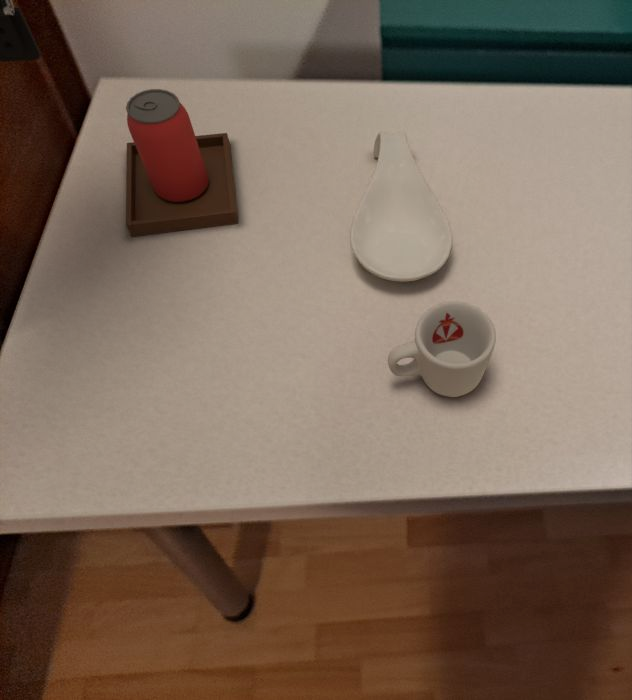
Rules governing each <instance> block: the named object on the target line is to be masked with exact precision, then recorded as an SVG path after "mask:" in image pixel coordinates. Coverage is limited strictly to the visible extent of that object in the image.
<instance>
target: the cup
mask: <svg viewBox="0 0 632 700" xmlns="http://www.w3.org/2000/svg"><path fill="white" fill-rule="evenodd" d="M496 342H497V332H496V328H495V325H494V323H493V321H492V319H491V318H490V317H489V316H488V314H487V313H486V312H485V311H483V310H482V309H480V307H477V306H476V305H474V304H471V303H468V302H464V301H458V300H450V301H444V302H441V303H440V302H439V303H437V304H434V305H433V306H431V307H429V308H428V309H427V310H426V311H425V312H423V313H422V315H420V318H419V319H418V321H417V323H416V326H415V331H414V339H413V340H412V341H410V342H406V343H401V344H399V345H397V346H396V347H394V348H392V349H391V350H390V351H389V353H388V355H387V366H388V368H389V371H390V372H391V374H392V375H394V376H395V377H401V378H405V377H411V376H416V375H417V376H418V375H420V376H421V378H422V379H423V381H424V383H425V384H426V386H427V387H428V388H429V389H430V390H431V391H433V392H434V393H436V394H437V395H440V396H444V397H448V398H457V397H461V396H462V397H463V396H465V395H467V394H469V393H471V392H472V391H473V390H474V389H475V388H476V387H477V386H478V385H479V384H480V382H481V381H482V378H483V377H484V374H485V372H486V369H487V367H488V364H489V362H490V359H491V357H492V354H493V352H494V350H495V347H496ZM409 358H411V359H412V360H411V361H410V362H408V363H404V364H398V362H400V361H401V360H405V359H409Z"/></svg>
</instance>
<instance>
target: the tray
mask: <svg viewBox="0 0 632 700" xmlns="http://www.w3.org/2000/svg"><path fill="white" fill-rule="evenodd" d="M195 137H196V140H197V143H198V146H199V149H200V152H201V155H202V159H203V162H204V165H205V168H206V171H207V174H208V177H209V181H208V186H207V188H206V189H205V191H204V192H203V193H202V194H201V195H200V196H198V197H196V198H194V199H192V200H189V201H185V202H172V201H167V200H165V199H163V198H161V197H159V196H158V195H157V193H156V192H155V191H154V189H153V186H152V184H151V182H150V179H149V177H148V174H147V172H146V170H145V167H144V165H143V162H142V160H141V158H140V155H139V153H138V150H137V148H136V146H135V143H134V141H132V142H126V169H125V170H126V174H125V175H126V179H125V181H126V184H125V191H126V192H125V197H126V198H125V202H126V203H125V226H126V228H127V230H128V232H129V235H130V236H131V238H133V237H140V236H148V235H149V236H151V235H158V234H164V233H173V232H180V231H189V230H196V229H204V228H213V227H221V226H227V225H236V224H237V225H238V224H239V215H238V206H237V197H236V188H235V177H234V169H233V167H234V166H233V160H232V149H231V143H230V139H229V135H228V133H227V132H221V133H220V132H219V133H212V134H201V135H195Z"/></svg>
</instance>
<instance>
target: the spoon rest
mask: <svg viewBox="0 0 632 700" xmlns="http://www.w3.org/2000/svg"><path fill="white" fill-rule="evenodd" d="M373 156H374V157H375V158H377V162H376V165H375V168H374V171H373V173H372V175H371V178H370V179H369V182H368V184H367V186H366V188H365V190H364V191H363V194H362V196H361V199H360V201H359V203H358V206H357V208H356V211H355V213H354V215H353V218H352V222H351V225H350V231H349V244H350V247H351V251H352V253H353V255H354V257H355V259H356V260H357V261H358V263H359V264H360V265H361V266H362V267H363V268H364V269H366V270H367V271H368V272H369V273H371V274H372V275H374V276H376V277H379V278H381V279H384V280H387V281H393V282H414V281H418V280H421V279H422V280H423V279H424V278H428V277H429V276H431V275H434V274H435V273H436V272H438V271H439V270H440V269H441V268H442V267H443V266H444V265H445V264H446V262H447V261H448V259H449V257H450V255H451V253H452V252H451V251H452V248H453V231H452V228H451V224H450V222H449V220H448V217H447V215H446V213H445V211H444V209H443V207H442V206H441V204H440V203H439V201H438V200H439V199H438V198H437V197H436V195H435V193H434V192H433V190H432V189H431V187H430V186H429V184H428V182H427V181H426V179H425V177H424V175H423V174H422V172H421V170H420V168H419V166H418V164H417V162H416V160H415V157H414V156H413V153H412V150H411V147H410V143H409V139H408V136H407V133H406V132H405V131H399V132H384V131H379V132H378V134H377V136H376V138H375V140H374V145H373Z"/></svg>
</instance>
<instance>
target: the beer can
mask: <svg viewBox="0 0 632 700" xmlns="http://www.w3.org/2000/svg"><path fill="white" fill-rule="evenodd" d="M125 110H126V113H127V115H126V123H127V124H126V125H127V128H128V131H129V133H130V135H131V138H132V142H134V143H135V146H136V148H137V150H138V153H139V155H140V158H141V160H142V162H143V165H144V167H145V170H146V172H147V174H148V177H149V179H150V182H151V184H152V186H153V189H154V191H155V192H156V193H157V195H158V196H159V197H161V198H163V199H165V200H167V201H172V202H185V201H189V200H192V199H194V198H196V197H198V196H200V195H201V194H202V193H203V192H204V191H205V189H206V188H207V186H208V181H209V177H208V174H207V171H206V168H205V165H204V162H203V159H202V155H201V152H200V149H199V146H198V143H197V140H196V137H195V136H196V134H195V131H194V127H193V124H192V121H191V118H190V115H189V113H188V111H187V109H186V108H185V106H184V105H183V104H182V103H181V102H180V99H179V97H178V96H177V95H176V94H175V93H174V92H172V91H169V90H167V89H162V88H151V89H150V88H149V89H146V90H142V91H140V92H137V93H136V94H134V95H133V96H131V97H130V98H129V100H128V101H127V102H126V107H125Z"/></svg>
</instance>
